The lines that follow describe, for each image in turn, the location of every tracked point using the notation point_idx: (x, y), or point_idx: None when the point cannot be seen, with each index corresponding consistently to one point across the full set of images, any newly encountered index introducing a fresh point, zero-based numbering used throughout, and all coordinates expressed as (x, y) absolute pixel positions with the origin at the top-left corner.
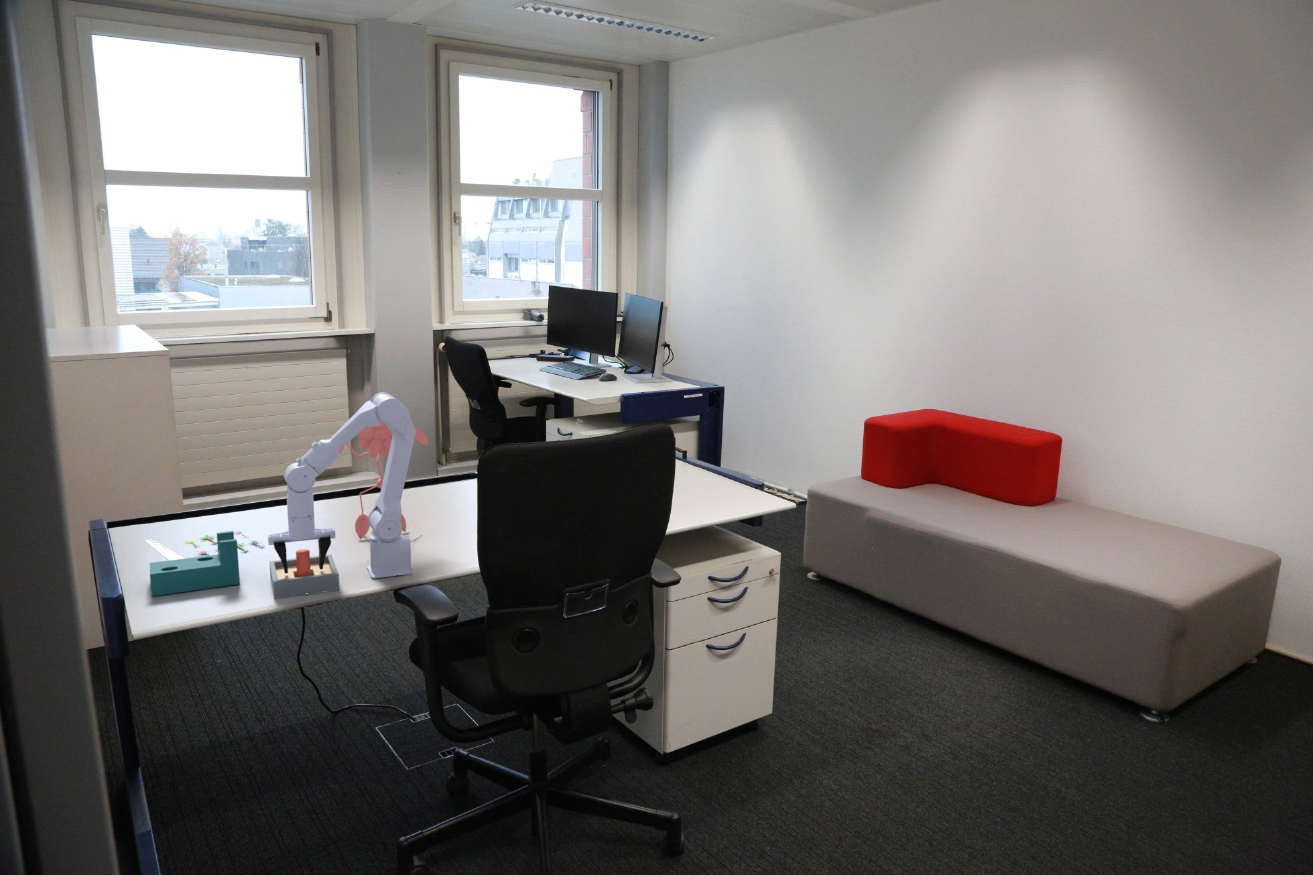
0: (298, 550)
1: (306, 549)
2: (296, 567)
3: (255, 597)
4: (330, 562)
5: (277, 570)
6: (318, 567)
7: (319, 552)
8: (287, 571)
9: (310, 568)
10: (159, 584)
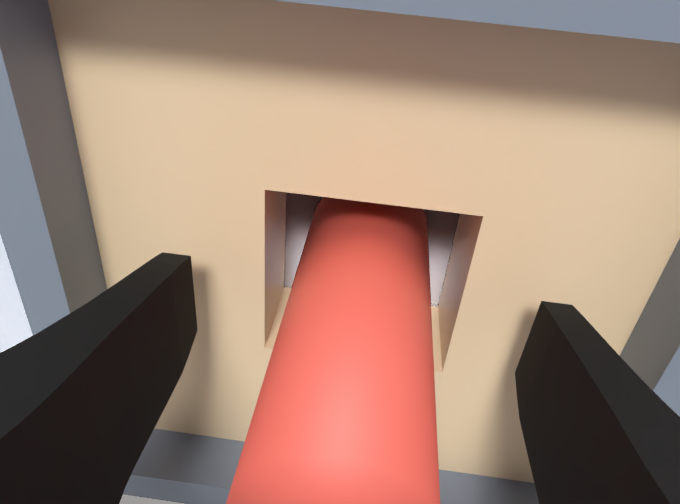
0: (272, 475)
1: (410, 488)
2: (318, 70)
3: (18, 316)
4: None
5: (90, 72)
6: (563, 189)
7: (595, 489)
8: (186, 347)
9: (466, 184)
10: None
